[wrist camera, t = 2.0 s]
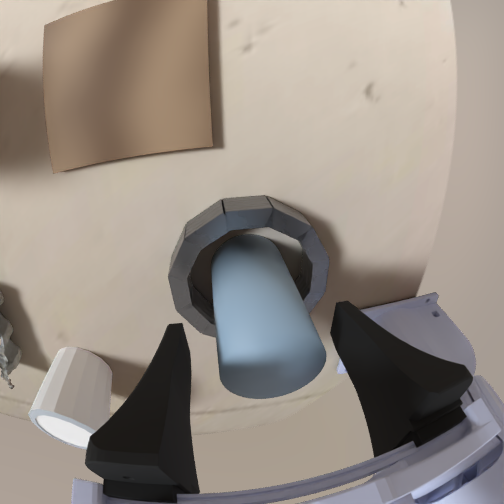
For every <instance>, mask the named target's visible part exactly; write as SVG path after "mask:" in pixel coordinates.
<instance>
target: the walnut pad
mask: <svg viewBox="0 0 504 504" xmlns="http://www.w3.org/2000/svg"><path fill="white" fill-rule="evenodd" d="M43 94H44V109H45V120H46V129H47V137H48V144H49V151H50V157H51V163H52V169H53V174H54V173H58V172H62V171H66V170H70V169H74V168H78V167H82V166H87V165H92V164H96V163H101V162H106V161H111V160H116V159H122V158H128V157H133V156H140V155H146V154H153V153H160V152H167V151H175V150H183V149H192V148H202V147H213V141H212V125H211V106H210V85H209V59H208V21H207V0H114V1H110V2H107V3H103V4H100V5H97V6H93V7H90V8H87V9H84V10H82V11H79V12H76V13H73V14H71V15H68V16H65V17H63V18H60V19H58V20H56V21H53V22H51V23H49V24H47V25H45V26H44V41H43Z"/></svg>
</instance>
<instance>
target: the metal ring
mask: <svg viewBox="0 0 504 504" xmlns="http://www.w3.org/2000/svg"><path fill="white" fill-rule="evenodd" d="M261 227H270V228H272V229H274V230H277V231H279V232H281V233H283V234H285V235H288V236H290V237H292V238H294V239H296V240H298V241H299V243H300V245H301V246H302V262H301V274H300V275H299V276H298V278H297V279H296V281H295V282H294V283H295V285H296V287H297V289H298V292H299V294H300V296H301V298H302V300H303V302H304V304H305V307H306V309H307V311H308V313H310V312H311V311H312V309H313V308H314V307H315V305H316V304H317V303H318V301H319V300H320V299H321V297H322V296H323V295H324V292H325V290H326V283H327V276H328V268H329V260H330V259H329V257H328V255H327V253H326V251H325V249H324V247H323V245H322V243H321V241H320V240H319V238H318V236H317V234H316V232H315V230H314V229H313V227H312V226H311V225H310V223H309V222H308V221H307V220H306V218H305V217H304V216H303V215H302V214H301V213H300V212H298V211H296V210H294V209H292V208H290V207H288V206H286V205H284V204H282V203H280V202H278V201H276V200H274V199H272V198H270V197H268V196H266V197H265V195H263V196H250V197H237V198H226V199H223V201H222V200H219V201H218V202H216V203H215V204H213V205H212V206H210V207H209V208H207V209H206V210H204V211H203V212H202V213H200V214H199V215H197V216H196V217H194V218H193V219H191V220H190V221H188V222H187V224H186V225H185V227H184V229H183V231H182V234H181V236H180V238H179V240H178V243H177V245H176V247H175V250H174V252H173V254H172V257H171V262H170V268H169V274H168V279H169V283H170V288H171V292H172V296H173V300H174V304H175V308H176V310H177V312H178V313H179V314H180V315H181V316H183V317H184V318H185V319H186V320H187V321H188V322H189V323H190V324H191V325H192V326H193V327H195V328H196V329H197V330H198V331H199V332H200V333H202V334H205V335H208V336H212V337H215V338H216V330H215V317H214V305H213V304H210V303H209V302H208V301H207V300H206V299H205V298H204V297H203V296H202V295H201V294H200V293H199V291H198V290H197V289H196V288H195V287H194V286H193V285H192V279H191V273H190V271H191V269H192V267H193V264H194V262H195V260H196V258H197V256H198V254H199V252H200V250H201V249H203V248H204V247H206V246H208V245H209V244H211V243H212V242H214V241H215V240H217V239H218V238H220V237H221V236H223V235H224V234H226V233H228V232H229V231H231V230H239V229H250V228H261Z"/></svg>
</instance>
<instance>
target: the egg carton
mask: <svg viewBox="0 0 504 504" xmlns="http://www.w3.org/2000/svg"><path fill="white" fill-rule="evenodd" d="M3 302H4V298H3V295H2V292H1V291H0V306H1V305H2V304H3ZM12 332H13V328H12V326H11V324H10V322H9V321H8V320H7V319H5V318H4V317H3V315H2V314H1V312H0V339H1V342H2V343H1V345H0V368H1V369H2V370H1V372H2V374H1V378H2V379H3V380H5V381H7V382H8V385H9V386H10V387H9V388H11V389H13V387H14V385H12V383H11V379H9V377H8V375H9V374H10V373H11V372H12V370H14V369H15V368H16V367H17V366H18V364H19V362H20V358H21V355H22V351H21V349H20V347H18V346H16V345H15V344H14V343H13V342H12V341H11V340H10V335H11V334H12Z"/></svg>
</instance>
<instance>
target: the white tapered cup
mask: <svg viewBox="0 0 504 504" xmlns="http://www.w3.org/2000/svg"><path fill="white" fill-rule="evenodd" d="M112 374H113V373H112V371H111V369H110V367H109V365H108V364H107V363H105V362H104V361H103V360H102V359H101V358H100V357H98V356H97V355H95V354H93V353H92V352H90V351H87V350H84V349H81V348H78V347H65V348H62V349H60V350H59V351H58V353H57V355H56V357H55V359H54V360H53V362H52V364H51V366H50V368H49V370H48V372H47V374H46V376H45V379H44V381H43V383H42V385H41V387H40V389H39V391H38V393H37V396H36V398H35V400H34V402H33V405H32V407H31V409H30V412H29V414H28V415H29V417H30V419H31V421H32V422H33V423H34V424H35V425H36V426H37V427H38V428H39V429H40V430H42V431H43V432H45V433H46V434H48V435H49V436H51V437H53V438H55V439H57V440H59V441H61V442H63V443H65V444H68V445H71V446H74V447H77V448H81V449H86V450H87V445H88V442H89V438H90V436H91V435H92V434H93V433H95V432H96V431H97V430H98V429H99V428H100V427H101V426H103V425H104V424H105V423H106V422H107V421H108V420H109V419H110V400H111V386H112Z"/></svg>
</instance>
